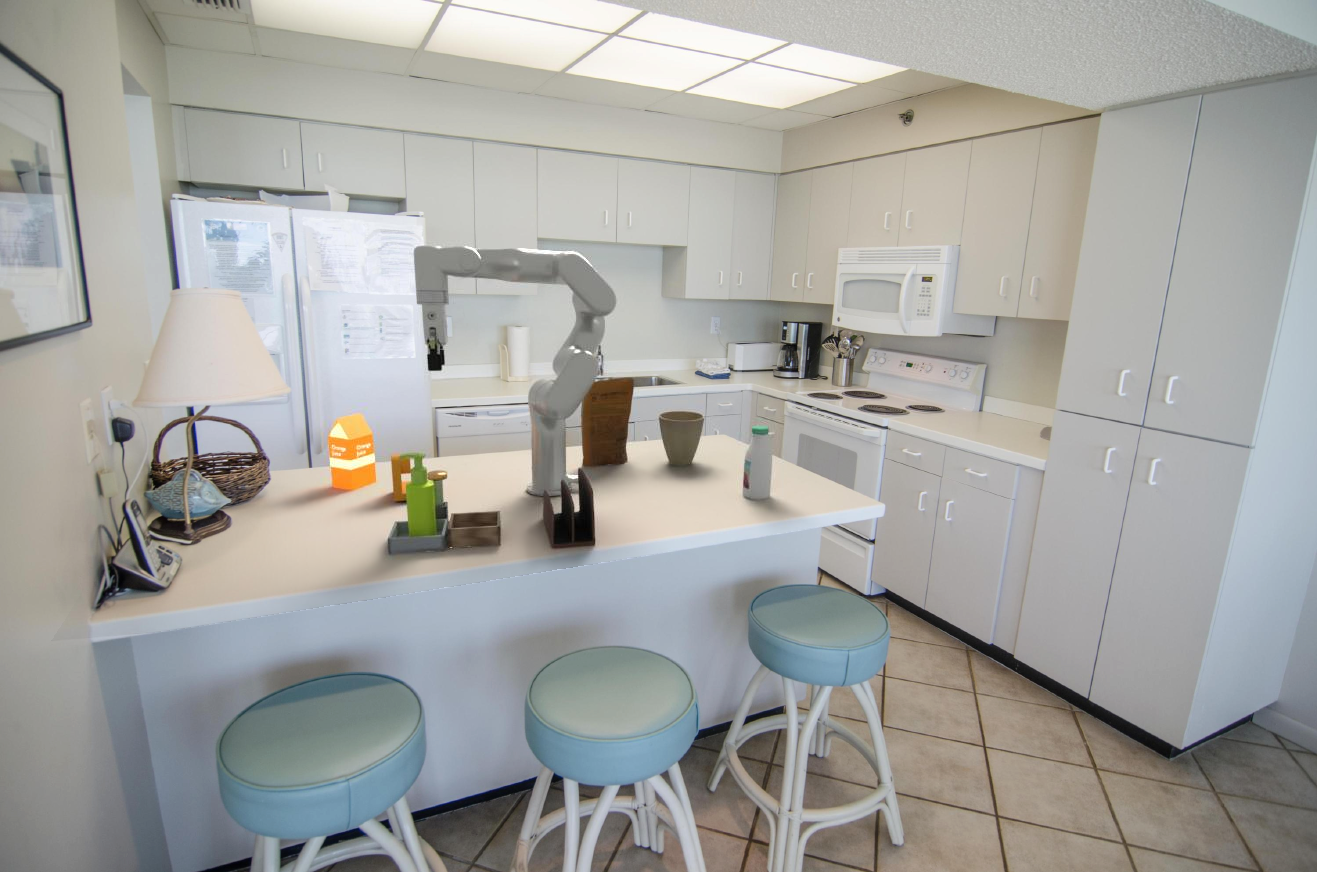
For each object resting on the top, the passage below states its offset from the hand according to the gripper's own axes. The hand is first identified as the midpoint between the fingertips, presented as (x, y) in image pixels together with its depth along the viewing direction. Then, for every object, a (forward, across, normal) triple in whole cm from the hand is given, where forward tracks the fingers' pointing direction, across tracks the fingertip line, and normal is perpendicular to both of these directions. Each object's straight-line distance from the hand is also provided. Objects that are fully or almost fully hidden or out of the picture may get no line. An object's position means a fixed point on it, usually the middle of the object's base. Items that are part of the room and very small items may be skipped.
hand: (436, 367), depth 168 cm
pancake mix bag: (+37, +32, -48) cm, 68 cm away
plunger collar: (+36, -17, 0) cm, 40 cm away
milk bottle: (+37, -6, -85) cm, 93 cm away
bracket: (+36, +8, +10) cm, 39 cm away
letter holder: (+37, -24, -30) cm, 53 cm away
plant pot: (+37, +30, -72) cm, 86 cm away
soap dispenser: (+36, -25, +3) cm, 44 cm away
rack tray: (+36, -26, +4) cm, 44 cm away
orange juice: (+36, +22, +26) cm, 50 cm away
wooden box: (+36, -25, -9) cm, 45 cm away
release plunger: (+35, -17, 0) cm, 39 cm away
